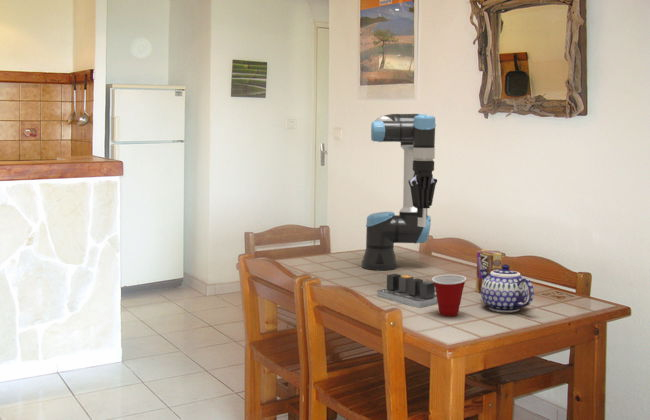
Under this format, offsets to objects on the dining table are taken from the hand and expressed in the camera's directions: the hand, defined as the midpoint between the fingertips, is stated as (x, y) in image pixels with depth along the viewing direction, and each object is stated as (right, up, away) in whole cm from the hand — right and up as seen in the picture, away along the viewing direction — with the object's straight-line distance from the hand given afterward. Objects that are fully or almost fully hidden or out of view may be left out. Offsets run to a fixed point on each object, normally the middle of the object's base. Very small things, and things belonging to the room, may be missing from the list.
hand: (421, 226), depth 247 cm
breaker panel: (-2, -25, -3) cm, 25 cm away
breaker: (-6, -23, -4) cm, 24 cm away
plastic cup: (+5, -28, -25) cm, 38 cm away
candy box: (+24, -24, +3) cm, 34 cm away
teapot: (+25, -27, -17) cm, 40 cm away
